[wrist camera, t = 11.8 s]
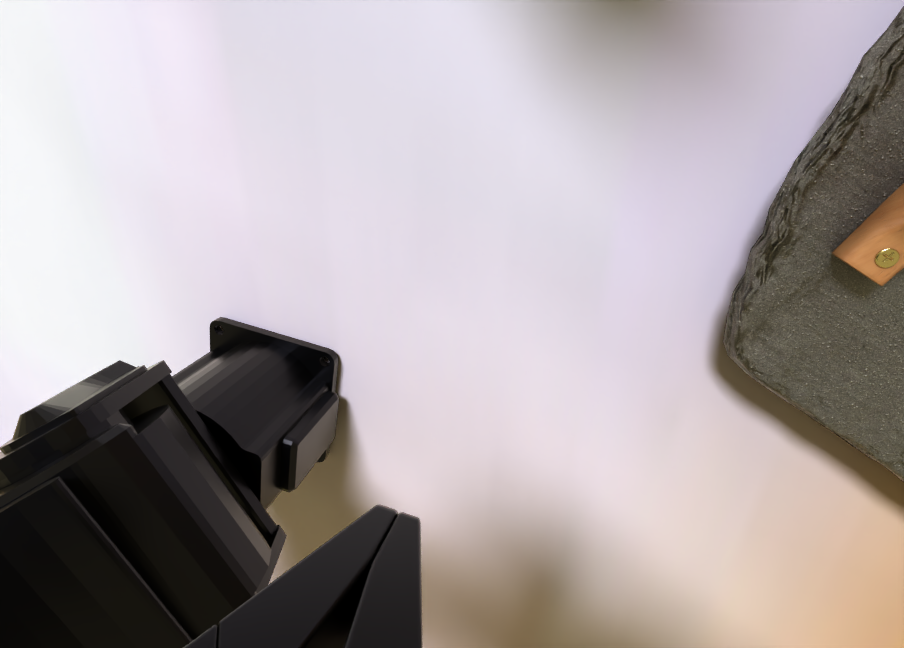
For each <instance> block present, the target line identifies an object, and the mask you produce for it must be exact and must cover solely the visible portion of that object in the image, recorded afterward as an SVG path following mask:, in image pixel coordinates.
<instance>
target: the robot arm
mask: <svg viewBox="0 0 904 648" xmlns="http://www.w3.org/2000/svg"><path fill="white" fill-rule="evenodd" d="M220 326H221V327H222V328H223V330H224V331H223V330H221V328H220ZM324 357H326V358H328V360H329V362H330V363H328V362H326V361H325V360H324ZM337 369H338V356H337V354H336V353H335V352H334V351H333V350H331V349H329V348H325V347H322V346H319V345H315V344H312V343H309V342H305V341H302V340H298V339H295V338H292V337H288V336H285V335H281V334H278V333H275V332H271V331H268V330H265V329H261V328H258V327H254V326H251V325H248V324H244V323H241V322H237V321H234V320H231V319H227V318H223V317H220V318H218V319H216V320H214V321H212V323H211V324H210V352H209V353H208V354H206V355H204V356H203V357H201V358H200V359H198V360H197V361H195V362H194V363H192V364H191V365H189V366H188V367H186V368H184V369H183V370H181V371H180V372H178V373H177V374H175V375H174V376H171V375H170V373H171V372H172V371H171V370H170V369H169V367H168V366H167V364H166V363H165V361H164V360H163V361H161V362H159V363H157V364H155V365H153V366H151V367H149V368H146V367H145V366H144V365H143V366H141V367H139V366H138V367H134V366H132V365H130V364H127V363H125V362H122V361H118V362H116V363H114V364H112V365H110V366H108V367H106V368H105V369H103V370H101V371H99V372H97V373H95V374H94V375H92V376H90V377H88V378H86V379H84V380H83V381H81V382H79V383H77V384H75V385H73V386H72V387H70V388H68V389H66V390H64V391H63V392H61V393H59V394H57V395H55V396H54V397H52V398H50V399H48V400H47V401H45V402H43V403H41V404H39V405H38V406H36V407H34V408H32V409H31V410H29V411H27V412H25V413H24V414H22V415H20V417H19V420H18V423H17V426H16V429H15V432H14V435H13V438H12V439H11V440H10V441H8V442H7V443H5V444H4V445H3V446H1V447H0V450H1V452H0V648H422V589H421V527H420V519H419V518H418V517H415V516H412V515H409V514H406V513H403V512H401V513H399V514H398V512H397V511H396V510H395V509H392V508H389V507H386V506H383V505H376V506H375V507H373V508H372V509H370V510H369V511H368V512H366V513H365V514H364V515H362V516H361V517H360V518H358V519H357V520H356V521H354V522H353V523H352V524H350V525H349V526H347V527H346V528H345V529H343V530H342V531H341V532H339V533H338V534H337V535H335V536H334V537H333V538H331V539H330V540H329V541H327V542H326V543H324V544H323V545H322V546H320V547H319V548H318V549H316V550H315V551H314V552H312V553H311V554H310V555H308V556H307V557H306V558H304V559H303V560H301V561H300V562H299V563H297V564H296V565H295V566H293V567H292V568H291V569H289V570H288V571H287V572H285V573H284V574H283V575H281V576H280V577H279V578H277V579H276V580H274V581H273V582H272V583H270V584H269V581H270V579H271V576H272V573H273V571H274V568H275V565H276V563H277V560H278V558H279V555H280V552H281V550H282V547H283V544H284V542H285V539H286V536H287V535H286V534H285V532H284V531H283V529H282V528H281V527H280V525H276V524H275V523H274V521H273V520H272V518H271V517H270V515H269V514H268V513H267V511H266V509H267V508H268V507H269V506H270V504H271V503H272V502H273V501H274V499H275V498H276V497H277V496H278V494H279V493H280V492H281V491H282V490H284V491H287V492H291V491H293V490H295V489H296V488H297V487H298V485H299V484H300V483H301V481H302V480H303V479H304V477H305V476H306V475H307V474H308V472H309V471H310V470H311V468H312V467H313V466H314V464H315V463H316V462H323V461H324V460H325V459H326V457H327V456H328V454H329V448H330V444H331V442H332V441H333V440H334V438H335V432H336V422H337V413H338V403H339V398H338V395H337V393H335V389H336V379H337ZM268 584H269V585H268Z"/></svg>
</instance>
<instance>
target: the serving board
mask: <svg viewBox="0 0 904 648" xmlns="http://www.w3.org/2000/svg"><path fill="white" fill-rule="evenodd" d="M723 343H724V346H725V349H726V351H727V354H728V356H729V357H730V358H731V359H732V360H733V361H734V362H735V363H736V364H737V365H738V366H739V367H740V368H741V369H742V370H743V371H744V372H745V373H746V374H748V375H749V376H750V377H752V378H753V379H754V380H756V381H757V382H759V383H760V384H761V385H763V386H764V387H766V388H767V389H769V390H770V391H771V392H773V393H774V394H776V395H777V396H779V397H780V398H782V399H783V400H785V401H787V402H788V403H790V404H791V405H793V406H794V407H796V408H798V409H799V410H801V411H802V412H804V413H806V414H807V415H808V416H810V417H811V418H812V419H814V420H815V421H816V422H818V423H820V424H821V425H823V426H824V427H826V428H828V429H829V430H831V431H832V432H834V433H835V434H836V435H838V436H839V437H841V438H842V439H844V440H845V441H846V442H848V443H849V444H851V445H852V446H853V447H855V448H856V449H858V450H859V451H861V452H862V453H864V454H865V455H866V456H868V457H869V458H871V459H873V460H875V461H877V462H878V463H880V464H882V465H883V466H884V467H885V468H887V469H888V470H889V471H891V472H892V473H893V474H894V475H896V476H897V477H898V478H899V479H901V480H902V481H903V482H904V7H903V8H902V9H901V11H900V12H899V13H898V15H897V16H896V17H895V19H894V20H893V22H892V23H891V24H890V26H889V27H888V28H887V30H886V31H885V32H884V33H883V34H882V35H881V37H880V38H879V39H878V40H877V41H876V42H875V43H874V45H873V46H872V47H871V48H870V49H869V50H868V51H867V52H866V54H865V55H864V56H863V57H862V59H861V61H860V63H859V65H858V67H857V69H856V71H855V73H854V75H853V77H852V79H851V81H850V83H849V85H848V87H847V88H846V90H845V91H844V93H843V95H842V96H841V98H840V100H839V101H838V103H837V104H836V106H835V108H834V109H833V111H832V113H831V114H830V115H829V117H828V118H827V119H826V121H825V122H824V123H823V125H822V126H821V127H820V128H819V130H818V131H817V132H816V134H815V135H814V136H813V138H812V139H811V140H810V142H809V143H808V144H807V146H806V147H805V148H804V149H803V151H802V152H801V153H800V155H799V156H798V157H797V159H796V160H795V161H794V163H793V165H792V167H791V169H790V171H789V173H788V175H787V176H786V178H785V180H784V182H783V184H782V186H781V188H780V190H779V192H778V193H777V195H776V197H775V199H774V201H773V203H772V205H771V207H770V208H769V212H768V216H767V220H766V224H765V228H764V231H763V234H762V235H761V236H760V238H759V239H758V240H757V242H756V243H755V245H754V246H753V247H752V249H751V251H750V255H749V259H748V263H747V267H746V272H745V274H744V276H743V277H742V279H741V281H740V282H739V284H738V285H737V287H736V289H735V290H734V292H733V296H732V300H731V304H730V308H729V312H728V317H727V322H726V328H725V333H724V339H723Z"/></svg>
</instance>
